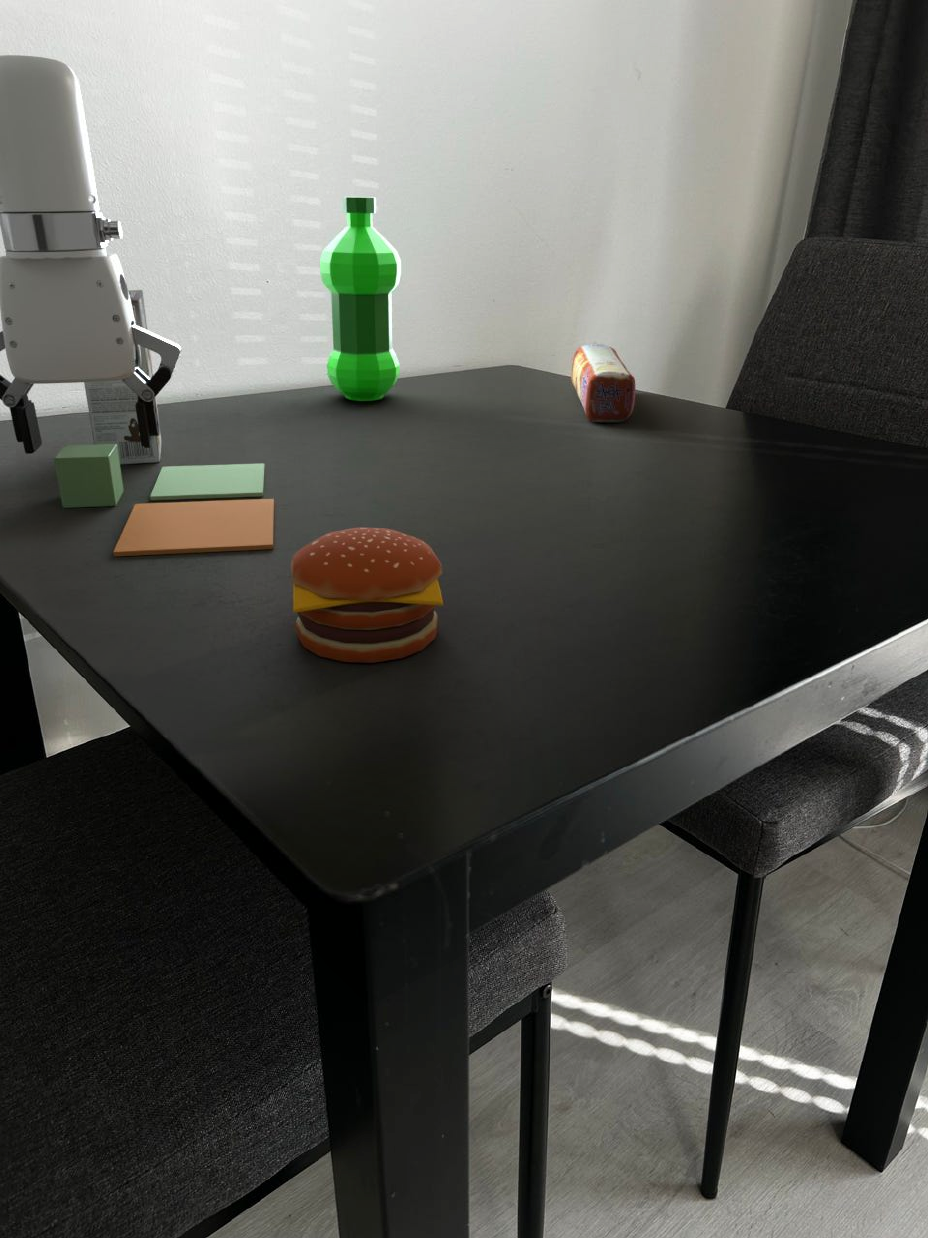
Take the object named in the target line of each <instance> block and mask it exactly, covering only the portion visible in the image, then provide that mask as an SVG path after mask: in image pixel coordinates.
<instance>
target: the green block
mask: <svg viewBox="0 0 928 1238" xmlns="http://www.w3.org/2000/svg"><path fill="white" fill-rule="evenodd" d="M53 460H54V465H55V472H56V478H57V484H58V489H59V495H60V500H61V506H62V508H63V509H70V508H71V509H72V508H73V509H74V508H97V507H98V508H99V507H100V508H101V507H117V505H118V503H119V501H120V499H121V497H122V495H123V493H124V483H123V475H122V470H121V465H120V462H119V455H118V448H117V444H94V443H92V444H65V445H64V446H63V447H62V448H61V450H60V451H59V452H58V453H57V454H56V456H55V457H54V458H53Z"/></svg>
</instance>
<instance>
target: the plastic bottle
mask: <svg viewBox="0 0 928 1238" xmlns="http://www.w3.org/2000/svg"><path fill="white" fill-rule="evenodd" d="M341 210H342V211H341V212H342V213H343V214H344V213H345V214H346V227H345V228H344V229H343V230H342V231H340V232H339V233H338V234H337V235H336V236H335V237H334V238H333V239H332V240H331V241H330V242H329V243H328V245H327V246H326V247H325V248H324V249H323V250H322V253H321V256H320V259H319V273H320V277H321V281H322V284H323V285H324V286H325V287H326V289H327V290H328V291H329V292H330V297H331V318H332V320H331V321H332V323H331V324H332V344H333V345H332V346H333V349H332V351H331V353H330V355H329V358H328V361H327V364H326V372H327V376H328V377H327V378H328V379H329V381H330V383H331V384H332V385H333V387H334V388H335V389H336V390H337V391H338V392H339V393H340V394H341V395H344V398H345V399H347V400H349V401H355V402H356V401H357V402H372V401H373V402H374V401H377V400H378V401H379V400H382V399H383V398H384V396H385V395H386V394H387V393H388V392H389V391H390V390H391V389H392V388H393V386H394V385H395V384H396V383H397V381H398V378H399V375H400V372H401V371H400V370H401V369H400V362H399V359H398V356H397V354H396V352H395V350H394V348H393V304H392V303H393V302H392V301H393V297H392V296H393V295H392V292H393V291H394V290H395V289H396V288H397V286H398V285H399V284H400V281H401V274H402V261H401V258H400V254H399V253H398V250H397V249H396V248H395V247H394V246H393V245H392V244H391V243H390V242H389V241H388V240H387V239H386V238H385V237H384V236H383V235H382V234H381V233H380V232H379V231H378V230H377V229H376V228H375V227H374V226H373V214H377V197H375V196H373V197H371V196H366V197H365V196H342V197H341Z"/></svg>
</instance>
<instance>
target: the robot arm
mask: <svg viewBox="0 0 928 1238" xmlns="http://www.w3.org/2000/svg"><path fill="white" fill-rule="evenodd" d="M89 143H90V142H89V136H88V129H87V124H86V117H85V110H84V103H83V98H82V93H81V88H80V83H79V80H78V78H77V76H76V74H75V72H74V70H73V69H72V68H71V67H70V66H69V65H67V64H66V63H64V62H62V61H59V60H57V59H53V58H48V57H43V56H35V55H21V54H20V55H18V54H17V55H16V54H14V55H13V54H5V55H0V231H1V232H0V233H1V237H2V242H3V247H4V250H5V252H4V253H5V255H2V256H0V319H1V327H2V328H1V329H2V330H1V331H0V352H2V351H4V350H5V354H6V359H7V363H8V367H9V370H10V373H11V374H12V376H13V377H14V378H13V380H12V382H11V381H9V380H8V379H7V378H5V377H4V376H3V375H1V374H0V400H1V401H2V404H3V405H4V406H5V407H7V408H9V411H10V416H11V421H12V425H13V429H14V434H15V439H16V441H17V443H22V445H23V449H24V450H23V451H24V453H25V454H27V455H28V454H34V453H35V452H37V451H38V450H39V448H40V447H41V446H42V444H43V441H42V435H41V431H40V426H39V421H38V417H37V416H38V415H37V412H36V407H35V403H34V402H32V400H31V399H29V393H30V391H31V390H32V389H33V386H35V385H38V384H41V385H42V384H44V385H45V384H47V385H48V384H75V383H84V382H103V381H118V380H122V381H123V382H124V383H125V384H126V385H127V386H128V387H129V388H130V389H131V390H133V391H134V392H135V393H136V394H137V396H138V401H137V402H136V404H135V407H136V414H137V420H138V426H139V433H140V439H141V445H142V447H144V448H151V446H152V444H153V442H154V436H159V435H160V434H161V428H159V426H160V420H159V421H158V418H159V413H158V414H157V410H158V406H157V407H156V402H157V399H156V400H155V397H156V398H157V396H158V395H159V393H160V392H161V391H162V390H163V388H164V387H165V386H166V385H167V384H168V383H169V382H170V381H171V378H172V377H173V376H174V375H173V374H174V372H175V369H176V367H177V364H178V361H179V359H180V356H181V354H182V347H181V346H180V345H179V344H178V343H175V342H174V341H172V340H169V339H167V338H165V337H163V336H160V335H158V334H156V333H154V332H152V331H150V330H148V329H147V330H148V331H147V330H145V329H143V328H141V327H138V326H136V323H135V319H134V314H133V309H132V305H131V300H130V296H129V292H128V290H129V288H128V284H127V281H126V278H125V274H124V271H123V268H122V265H121V262H120V259H119V257H118V255H117V253H107V249H106V247H107V246H108V243H110V242H111V241H113V240H114V239H115V240H119V239H120V240H121V239H123V230H122V226H121V222H120V221H119V220H111V219H109V218H106V217H105V216H103V213H102V212H100V205H99V199H98V193H97V188H96V180H95V174H94V167H93V162H92V156H91V149H90V144H89ZM109 241H110V242H109ZM140 346H142V347H145V348H147V349H149V350H150V352H153V353H156V354H158V355H159V356H160V363H159V366H158V369H157V370H156V371H155V373H153V376H152V377H151V379H150V378H149V377H148V376H147V375H146V374H145V373H144V372H143V371H141V370H140V369H139V368H138V367H139V366H140V365H141V350H140Z"/></svg>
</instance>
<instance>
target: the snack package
mask: <svg viewBox="0 0 928 1238" xmlns="http://www.w3.org/2000/svg"><path fill="white" fill-rule="evenodd" d="M571 360H572V361H571V373H570V380H571V384H572V385H573V387H574V388H575V392H576V395H577V396H578V399H579V400H580V403H581V406H582V408H583V411H584V415H585V416H586V418H587V419H588V420H589V421H590V422H593V423H602V422H605V423H621V422H624V421H626V420H627V419H629V417H631V415H632V413H633V411H634V407H635V402H636V401H635V399H636V388H637V387H636V385H637V384H636V379H635V377H634V376H633V375H632V374H631V372H630V371H629V370H628V368H627V366H626V365H625V363H623V361H622V359H621V358H620V357H619V355H618V353H617V351H616V350H615V348H613V347H611V346H610V345H606V344H601V343H589V344H584V345H582V346H580V347H578V348H577V350H575V353H574V354H573V356H572V359H571Z"/></svg>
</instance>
